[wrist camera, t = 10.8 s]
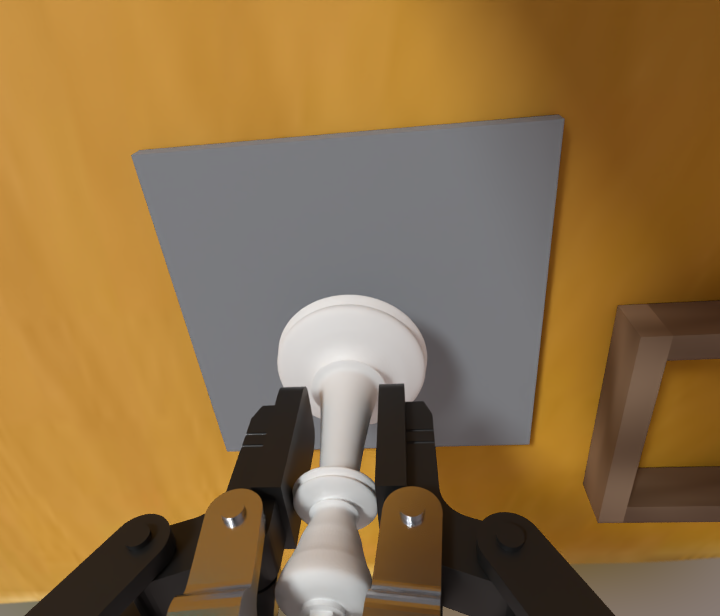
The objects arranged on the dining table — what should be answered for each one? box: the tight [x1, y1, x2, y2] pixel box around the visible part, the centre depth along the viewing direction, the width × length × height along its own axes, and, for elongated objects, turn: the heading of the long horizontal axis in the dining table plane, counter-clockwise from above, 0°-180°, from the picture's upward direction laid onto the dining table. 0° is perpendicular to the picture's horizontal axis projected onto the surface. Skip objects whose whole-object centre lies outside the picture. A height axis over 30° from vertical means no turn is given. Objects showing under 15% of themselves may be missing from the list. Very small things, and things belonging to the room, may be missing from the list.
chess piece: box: [275, 295, 427, 616], centre depth 13 cm, size 5×5×10 cm
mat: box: [131, 115, 564, 451], centre depth 19 cm, size 13×13×1 cm
